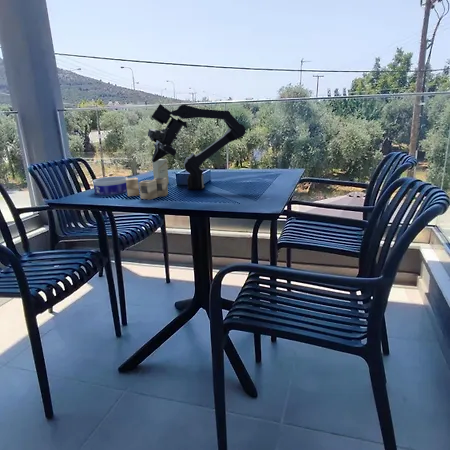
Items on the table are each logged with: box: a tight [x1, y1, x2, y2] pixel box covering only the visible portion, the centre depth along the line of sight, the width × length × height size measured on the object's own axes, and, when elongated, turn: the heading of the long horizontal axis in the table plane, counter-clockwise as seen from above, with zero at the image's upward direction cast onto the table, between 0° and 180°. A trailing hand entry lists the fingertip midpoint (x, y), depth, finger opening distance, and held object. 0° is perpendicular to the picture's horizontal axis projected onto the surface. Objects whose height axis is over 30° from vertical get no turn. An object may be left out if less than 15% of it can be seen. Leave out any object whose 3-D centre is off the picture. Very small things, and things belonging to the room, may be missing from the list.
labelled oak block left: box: [152, 178, 169, 197], centre depth 152 cm, size 5×5×7 cm
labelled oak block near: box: [138, 179, 159, 200], centre depth 148 cm, size 5×5×7 cm
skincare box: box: [151, 158, 170, 185], centre depth 176 cm, size 6×4×12 cm
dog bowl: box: [92, 175, 128, 196], centre depth 165 cm, size 15×15×6 cm
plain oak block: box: [126, 177, 140, 197], centre depth 155 cm, size 5×5×7 cm
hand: (152, 161), depth 156 cm, fingers closed
